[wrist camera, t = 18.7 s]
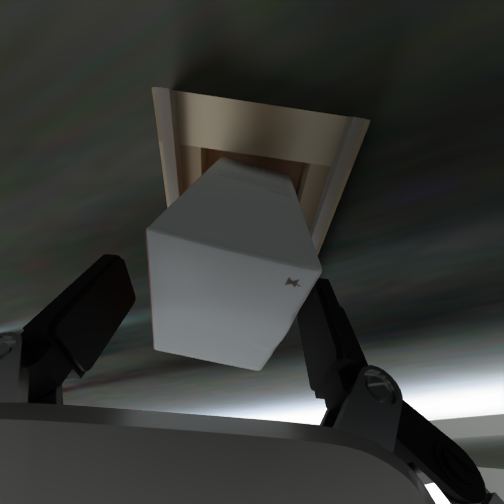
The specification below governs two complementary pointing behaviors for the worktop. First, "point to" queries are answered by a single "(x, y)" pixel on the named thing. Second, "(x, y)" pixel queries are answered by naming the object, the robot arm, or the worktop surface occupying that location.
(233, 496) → the robot arm
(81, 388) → the worktop surface
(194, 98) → the sliding lid wooden box
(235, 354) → the small box
